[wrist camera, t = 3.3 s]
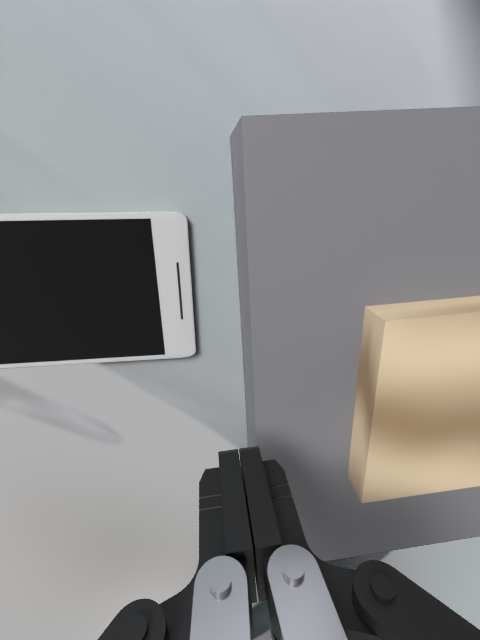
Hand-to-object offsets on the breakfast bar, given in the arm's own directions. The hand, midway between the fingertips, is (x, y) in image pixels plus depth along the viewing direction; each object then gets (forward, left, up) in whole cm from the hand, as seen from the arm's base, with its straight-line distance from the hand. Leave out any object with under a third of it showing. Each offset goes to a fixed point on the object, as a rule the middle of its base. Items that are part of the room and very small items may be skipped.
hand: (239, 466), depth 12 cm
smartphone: (-5, -9, -7) cm, 13 cm away
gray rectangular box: (0, +8, -6) cm, 10 cm away
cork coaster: (0, +10, -2) cm, 10 cm away
